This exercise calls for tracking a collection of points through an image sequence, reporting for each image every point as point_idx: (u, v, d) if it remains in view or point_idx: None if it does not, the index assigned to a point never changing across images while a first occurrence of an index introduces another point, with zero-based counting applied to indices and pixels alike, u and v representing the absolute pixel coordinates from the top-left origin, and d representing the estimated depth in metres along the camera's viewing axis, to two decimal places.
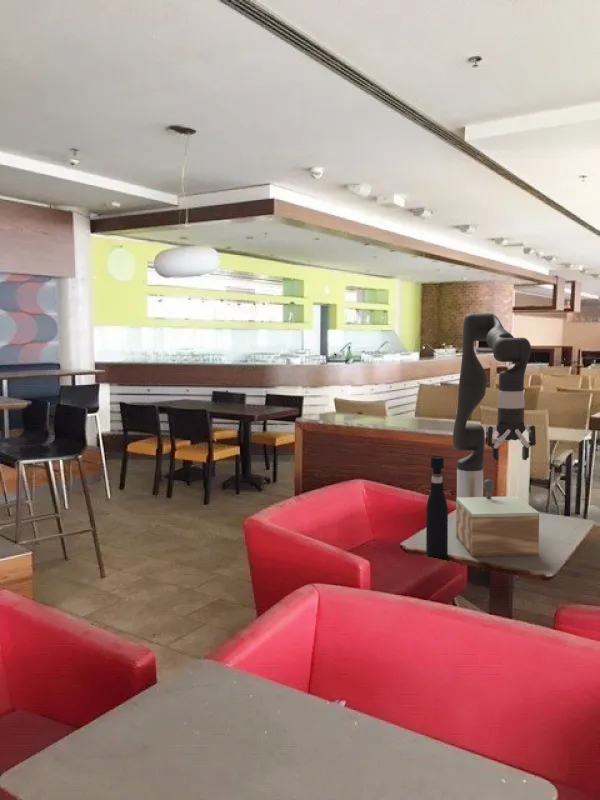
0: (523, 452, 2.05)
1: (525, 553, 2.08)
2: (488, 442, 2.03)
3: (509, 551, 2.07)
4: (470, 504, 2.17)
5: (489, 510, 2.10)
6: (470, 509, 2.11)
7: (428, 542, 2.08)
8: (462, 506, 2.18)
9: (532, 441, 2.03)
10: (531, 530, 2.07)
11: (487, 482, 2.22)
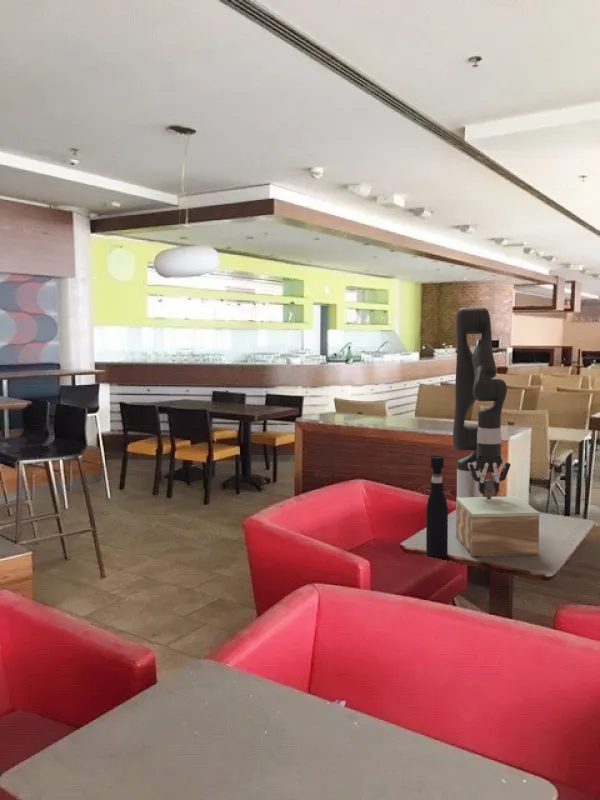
0: (494, 486, 2.24)
1: (525, 553, 2.08)
2: (474, 478, 2.22)
3: (509, 551, 2.07)
4: (470, 504, 2.17)
5: (489, 510, 2.10)
6: (470, 509, 2.11)
7: (428, 542, 2.08)
8: (462, 506, 2.18)
9: (502, 476, 2.22)
10: (531, 530, 2.07)
11: (487, 482, 2.22)
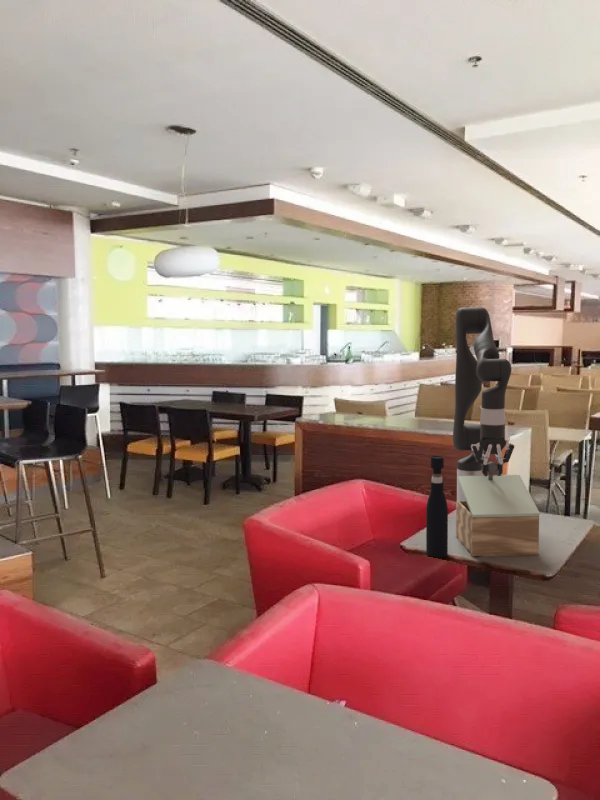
0: None
1: (525, 553, 2.08)
2: (477, 459, 2.18)
3: (509, 551, 2.07)
4: (471, 492, 2.15)
5: (490, 506, 2.09)
6: (471, 504, 2.10)
7: (428, 542, 2.08)
8: (463, 492, 2.17)
9: (505, 458, 2.18)
10: (531, 530, 2.07)
11: (491, 466, 2.18)
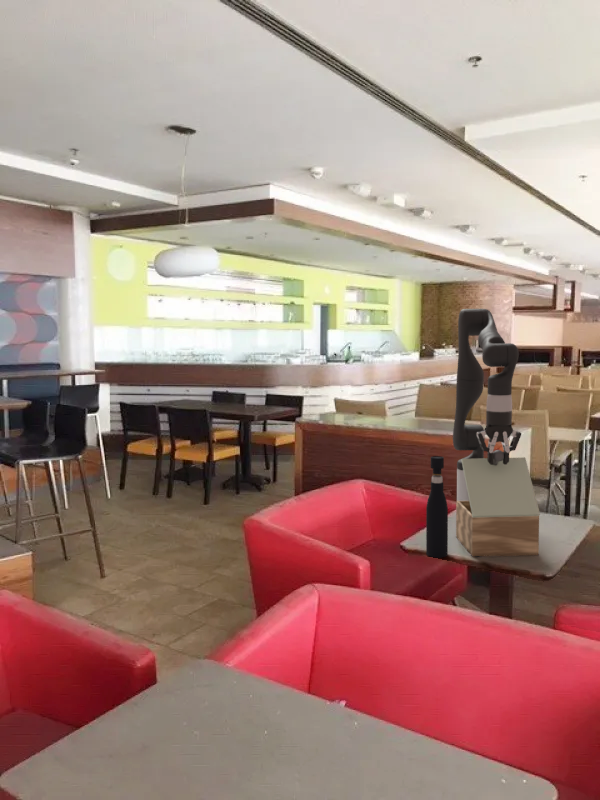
0: None
1: (525, 553, 2.08)
2: (483, 447, 2.11)
3: (509, 551, 2.07)
4: (474, 483, 2.12)
5: (491, 504, 2.08)
6: (472, 500, 2.08)
7: (428, 542, 2.08)
8: None
9: (512, 446, 2.11)
10: (531, 530, 2.07)
11: (497, 457, 2.11)
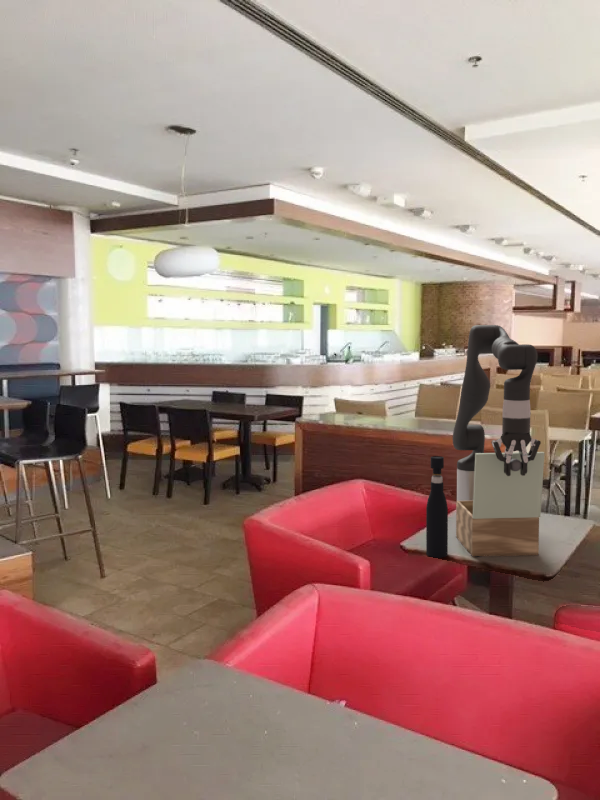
0: (521, 467, 1.97)
1: (525, 553, 2.08)
2: (499, 457, 1.95)
3: (509, 551, 2.07)
4: (482, 483, 2.03)
5: (494, 506, 2.04)
6: (476, 502, 2.04)
7: (428, 542, 2.08)
8: (474, 479, 2.03)
9: (531, 456, 1.95)
10: (531, 530, 2.07)
11: (513, 470, 1.96)
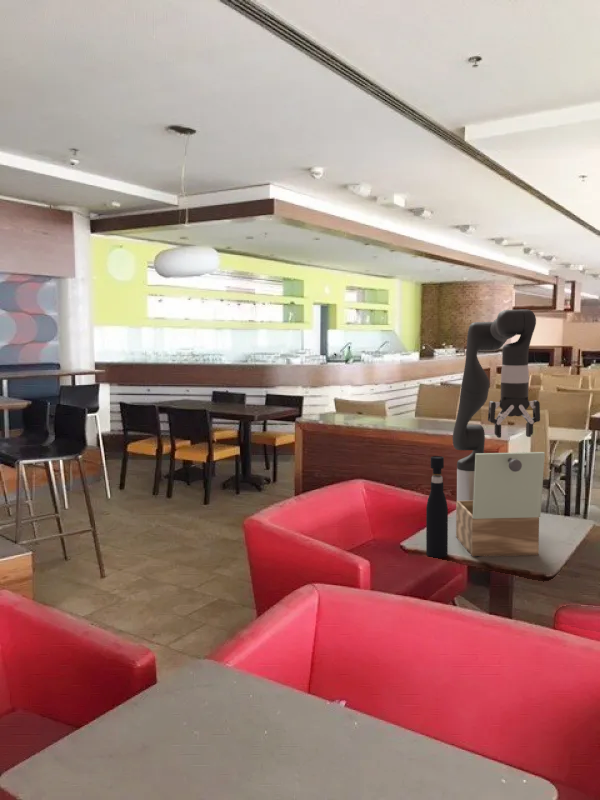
0: (527, 429, 1.98)
1: (525, 553, 2.08)
2: (491, 418, 1.96)
3: (509, 551, 2.07)
4: (482, 483, 2.03)
5: (494, 506, 2.04)
6: (476, 502, 2.04)
7: (428, 542, 2.08)
8: (474, 479, 2.03)
9: (536, 417, 1.96)
10: (531, 530, 2.07)
11: (513, 470, 1.96)
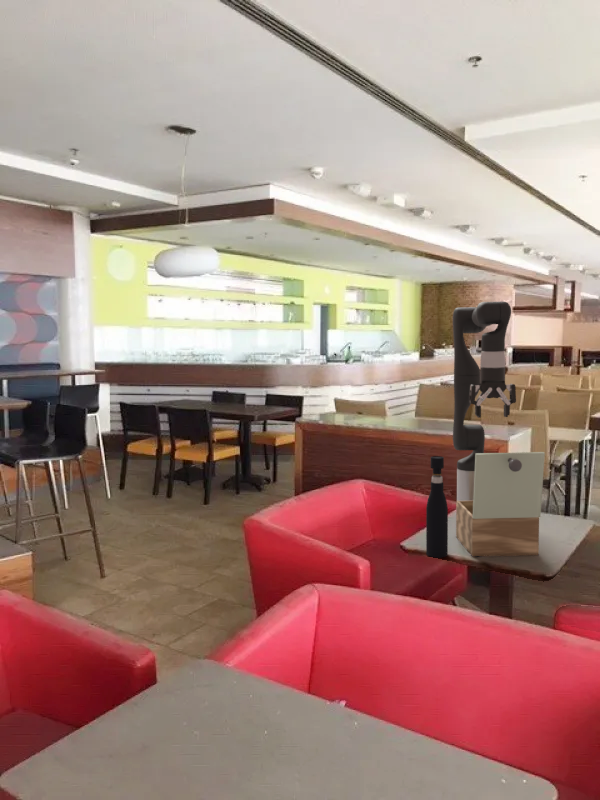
0: (504, 409, 2.18)
1: (525, 553, 2.08)
2: (471, 400, 2.16)
3: (509, 551, 2.07)
4: (482, 483, 2.03)
5: (494, 506, 2.04)
6: (476, 502, 2.04)
7: (428, 542, 2.08)
8: (474, 479, 2.03)
9: (513, 399, 2.17)
10: (531, 530, 2.07)
11: (513, 470, 1.96)
